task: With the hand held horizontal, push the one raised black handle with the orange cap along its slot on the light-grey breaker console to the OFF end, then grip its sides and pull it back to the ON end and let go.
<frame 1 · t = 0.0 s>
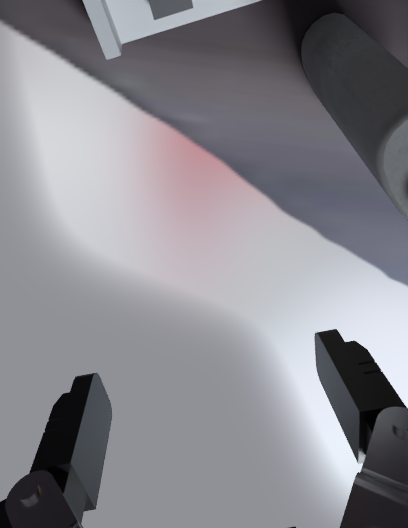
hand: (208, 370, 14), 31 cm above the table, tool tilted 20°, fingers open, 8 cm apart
flask: (345, 82, 39), on the table
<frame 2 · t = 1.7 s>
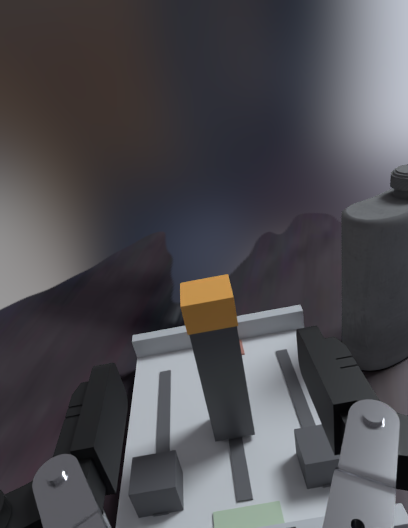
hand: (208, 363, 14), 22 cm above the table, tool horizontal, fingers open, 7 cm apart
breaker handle: (220, 364, 31), point 10 cm above the table, slide at 5.0 cm
breaker console: (235, 435, 37), on the table
flask: (396, 338, 45), on the table
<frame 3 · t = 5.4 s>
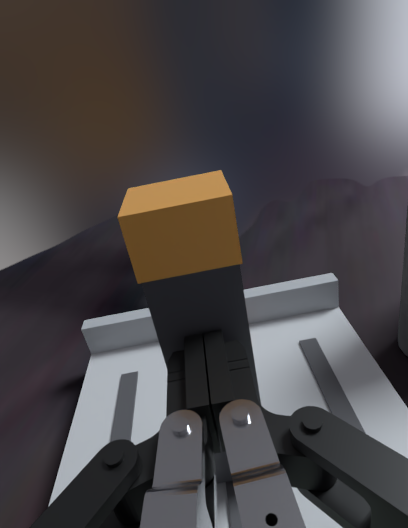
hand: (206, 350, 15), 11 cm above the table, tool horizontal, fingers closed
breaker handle: (209, 348, 17), point 10 cm above the table, slide at 5.7 cm, touching gripper
breaker console: (239, 480, 22), on the table
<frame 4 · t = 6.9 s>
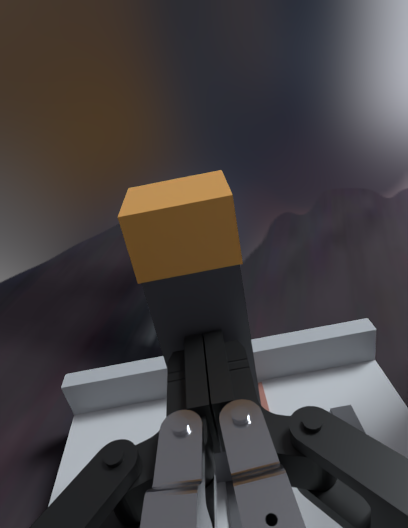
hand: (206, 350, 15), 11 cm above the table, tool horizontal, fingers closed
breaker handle: (209, 348, 17), point 10 cm above the table, slide at 11.7 cm, touching gripper
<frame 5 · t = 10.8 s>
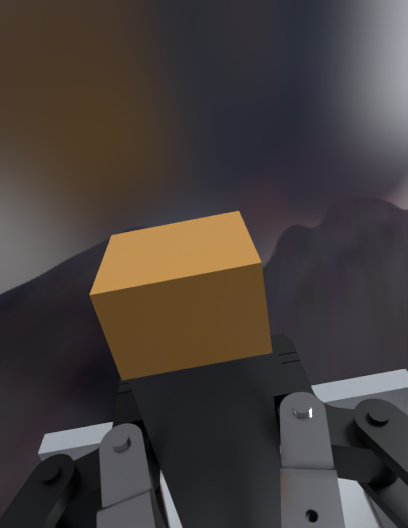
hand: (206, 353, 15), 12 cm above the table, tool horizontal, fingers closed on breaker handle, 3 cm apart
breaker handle: (220, 438, 13), point 10 cm above the table, slide at 11.8 cm, touching gripper
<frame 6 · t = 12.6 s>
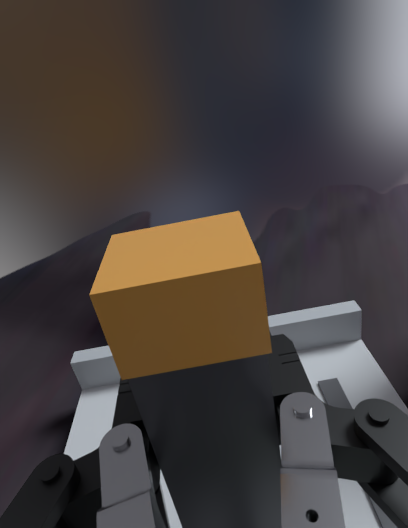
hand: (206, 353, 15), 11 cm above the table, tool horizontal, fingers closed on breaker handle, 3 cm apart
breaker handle: (220, 437, 13), point 10 cm above the table, slide at 5.0 cm, touching gripper
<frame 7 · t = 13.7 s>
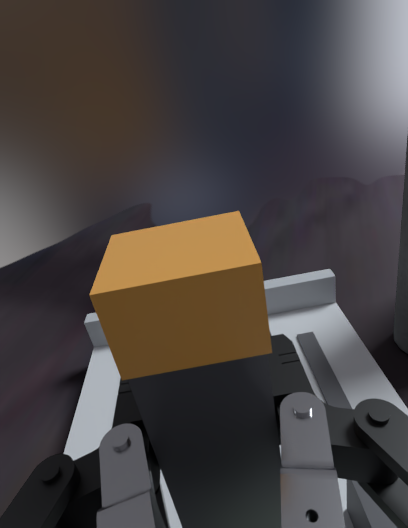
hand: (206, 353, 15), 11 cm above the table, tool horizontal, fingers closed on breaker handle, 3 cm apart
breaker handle: (220, 438, 13), point 10 cm above the table, slide at 0.3 cm, touching gripper
breaker console: (237, 468, 23), on the table
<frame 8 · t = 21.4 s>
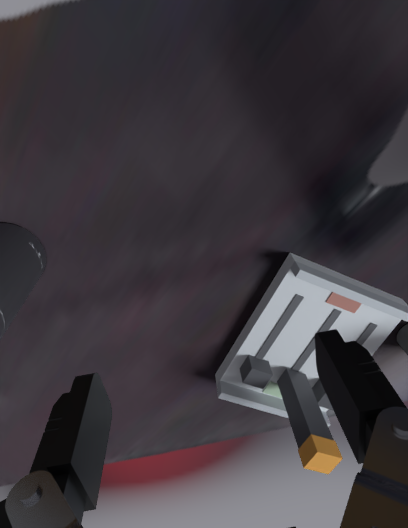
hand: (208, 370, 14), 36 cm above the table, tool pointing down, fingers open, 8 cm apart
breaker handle: (305, 415, 53), point 10 cm above the table, slide at 0.2 cm
breaker console: (304, 338, 60), on the table
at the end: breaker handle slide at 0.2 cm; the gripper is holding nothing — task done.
